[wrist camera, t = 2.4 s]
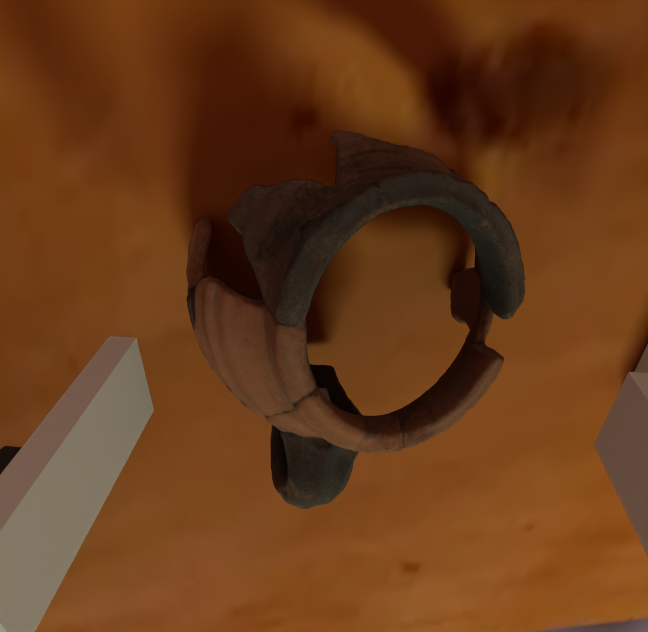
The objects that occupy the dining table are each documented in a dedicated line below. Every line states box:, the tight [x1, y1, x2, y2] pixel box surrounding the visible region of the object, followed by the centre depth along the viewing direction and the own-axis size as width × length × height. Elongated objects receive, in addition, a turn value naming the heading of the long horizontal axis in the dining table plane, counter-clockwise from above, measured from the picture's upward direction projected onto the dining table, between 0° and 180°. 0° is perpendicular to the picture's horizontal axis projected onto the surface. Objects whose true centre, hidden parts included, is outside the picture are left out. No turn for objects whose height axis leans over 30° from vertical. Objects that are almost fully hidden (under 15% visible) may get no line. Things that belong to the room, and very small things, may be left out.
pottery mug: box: [186, 130, 525, 509], centre depth 16 cm, size 12×10×8 cm
